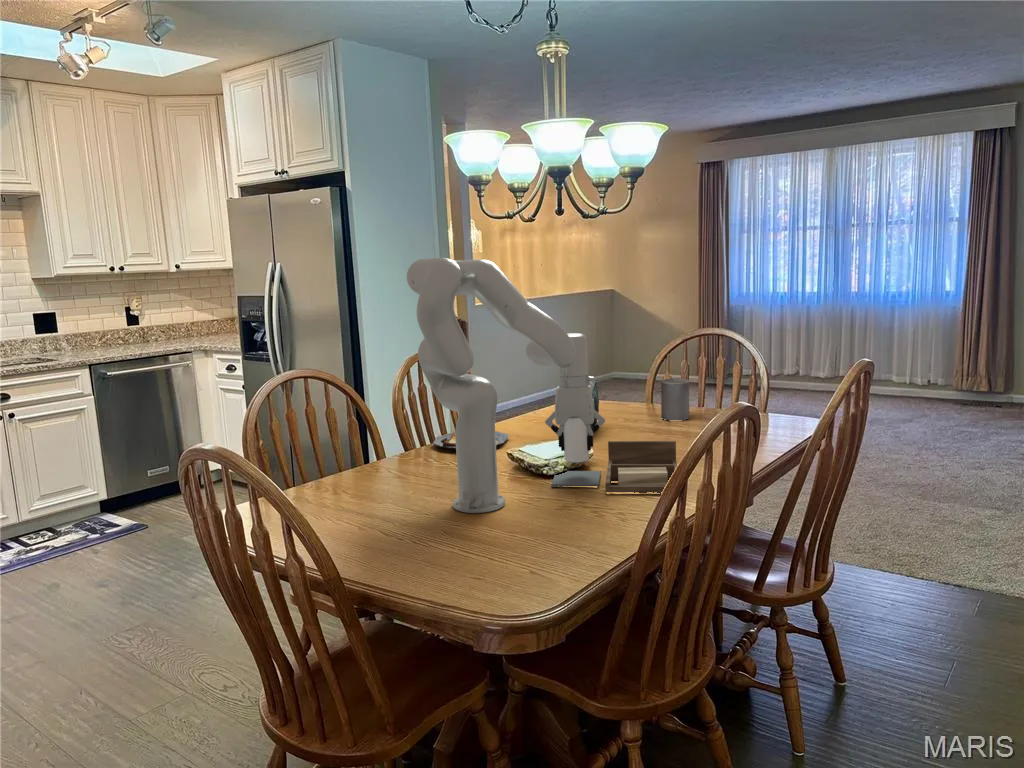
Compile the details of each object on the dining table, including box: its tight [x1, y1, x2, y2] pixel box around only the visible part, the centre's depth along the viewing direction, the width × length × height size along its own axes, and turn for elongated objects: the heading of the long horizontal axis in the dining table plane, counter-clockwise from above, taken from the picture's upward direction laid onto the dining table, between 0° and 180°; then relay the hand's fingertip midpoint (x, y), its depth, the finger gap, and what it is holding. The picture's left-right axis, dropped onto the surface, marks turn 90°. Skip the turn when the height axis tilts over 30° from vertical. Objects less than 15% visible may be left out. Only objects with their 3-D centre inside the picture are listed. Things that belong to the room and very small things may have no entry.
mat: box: [551, 470, 602, 487], centre depth 198 cm, size 12×12×1 cm
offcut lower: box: [617, 480, 668, 486], centre depth 190 cm, size 5×12×2 cm, turn 82°
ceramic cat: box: [588, 380, 600, 427], centre depth 247 cm, size 20×6×20 cm, turn 164°
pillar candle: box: [660, 377, 690, 421], centre depth 265 cm, size 10×10×15 cm
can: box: [563, 417, 590, 464], centre depth 196 cm, size 6×6×12 cm
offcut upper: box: [618, 467, 668, 483], centre depth 189 cm, size 5×12×2 cm, turn 83°
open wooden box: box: [605, 440, 678, 494], centre depth 194 cm, size 22×18×8 cm
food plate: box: [432, 430, 510, 449], centre depth 243 cm, size 25×23×4 cm
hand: (576, 449), depth 196 cm, fingers closed on can, 6 cm apart
